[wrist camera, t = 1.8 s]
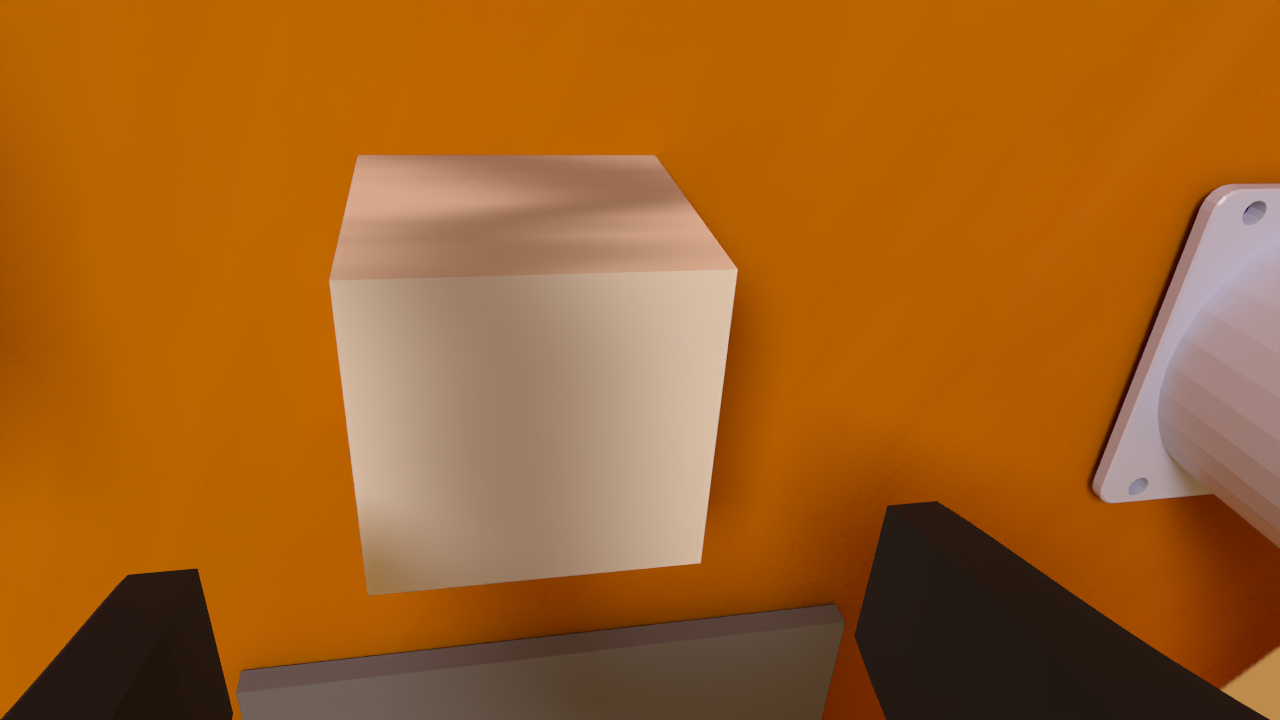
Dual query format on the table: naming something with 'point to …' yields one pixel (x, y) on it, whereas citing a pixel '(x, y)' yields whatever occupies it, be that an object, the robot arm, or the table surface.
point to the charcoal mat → (577, 676)
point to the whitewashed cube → (527, 366)
